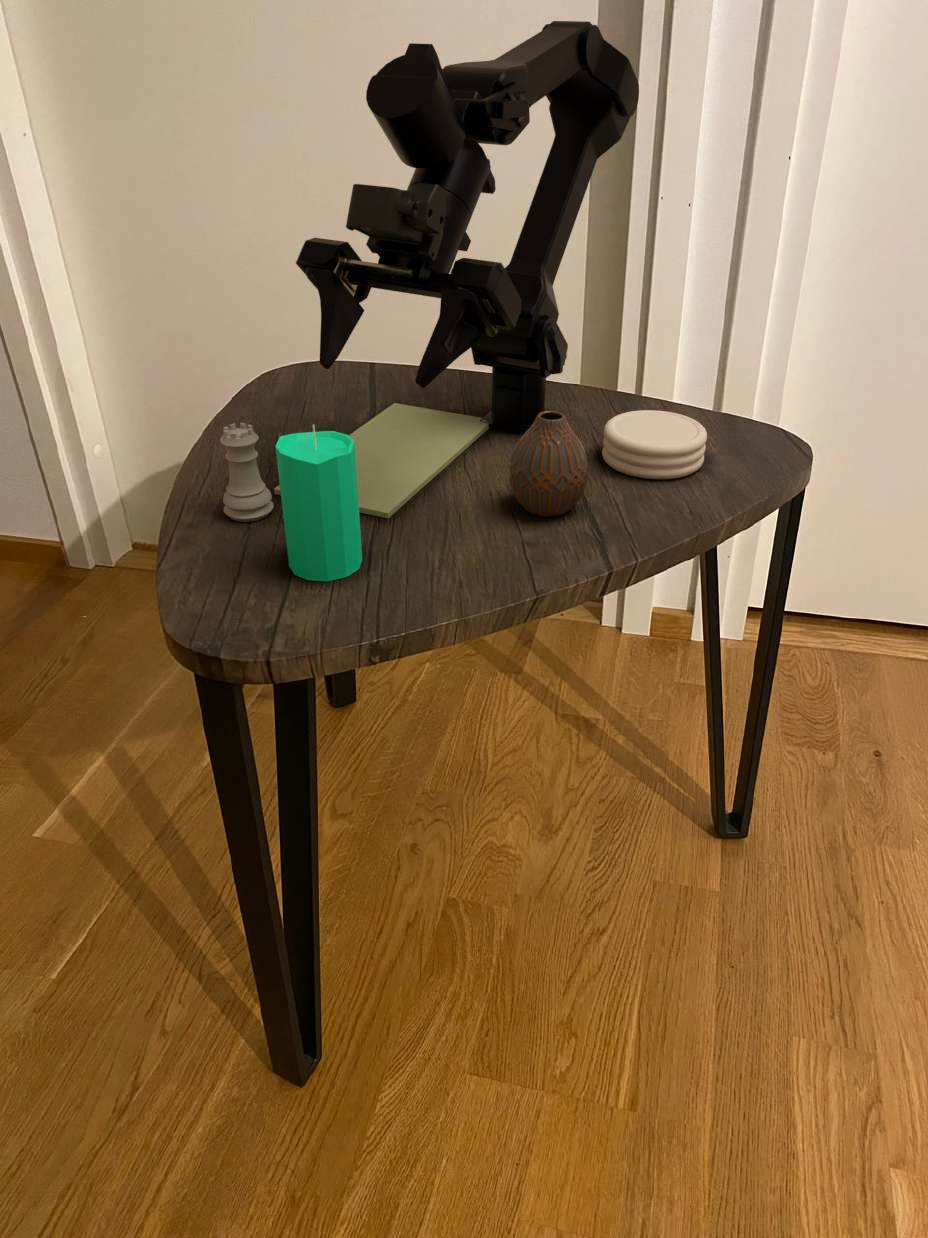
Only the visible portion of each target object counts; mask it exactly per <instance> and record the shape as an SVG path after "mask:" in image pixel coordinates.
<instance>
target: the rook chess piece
mask: <svg viewBox="0 0 928 1238" xmlns="http://www.w3.org/2000/svg"><path fill="white" fill-rule="evenodd" d="M222 430H223V431H222V433H223V435H221V437H220V439H219V440H220V444H222V445H223V447H224V448H225V449H226V453H225V455H224V458H225V459H226V460H227V462H228V483H227V485H226V487H225V488H226V491H225V492H224V494H223V496H222V497H223V498H222V501H223V502H222V503H223V504H224V505H225V506H223V513H224V514H225V515H227V517H228V518H229V519H231V520H233V521H236V522H241V523H250V522H251V523H252V522H257V521H260V520H263V519H265V518H267V517H268V516H269V515H270V514H271V512H272V511H273V509H274V507H275V505H274V502H273V501H272V499H273V498H272V493H271V490H270V489H268V488H267V487H266V483H265V482H264V481H263V479H262V477H261V474H260V470H259V467H258V466H259V465H258V463H257V457H258V456H259V452H258V451H256V448H255V447H256V444H257V442H258V441H259V438H260V437H259V435H258V434H257V433H256V432H255V431H254V426H253V425H252V424H247V423H246V422H240V423H239V427H237V425H236V423H230V424H229V426H228V425H227V426H224V427H223V428H222Z"/></svg>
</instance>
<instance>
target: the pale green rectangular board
mask: <svg viewBox="0 0 928 1238" xmlns="http://www.w3.org/2000/svg"><path fill="white" fill-rule="evenodd" d="M482 418H483V417H479V416H474V415H468V414H462V413H455V412H449V411H443V410H439V409H433V408H432V409H431V408H427V407H421V406H416V405H415V406H414V405H408V404H403V403H396V402H394V403H392V404H391V405H390V406H388V407H387V408H385V409H384V410H382V411H381V412H379V413H378V414H377V415H375V416H374V417H373V418H371V419H370V420H369V421H367V422H365V423H364V424H363V425H361V426H360V427H359V428H357V429H356V430H354V431H352V432H351V433H349V434H348V435H349V436H350V437H351V438H352V439H353V440H354V441H355V455H356V470H357V485H358V500H359V514H365V515H369V516H374V517H379V518H383V519H390V518H391V517H392V516H393V515H394V514H396V512H397V511H399V510H400V509H401V508H402V507H403V506H404V505H405V504H407V502H408V501H410V500H411V499H412V498H413V497H414V496H415V495H417V494H418V493H419V492H420V491H421V490H422V489H423V488H424V487H425V486H427V485H428V484H429V483H430V482H431V481H432V480H433V479H434V478H435V477H437V476H438V475H439V474H440V473H441V472H442V471H443V470H444V469H446V467H448V466H449V465H450V464H451V463H452V462H453V461H454V460H456V458H458V457H459V456H460V455H461V454H462V453H463V452H465V451H466V450H467V449H468V448H469V447H470V446H471V445H472V444H473V443H475V442H476V441H477V440H478V439H479V438H480V437H481V436H483V434H485V433H486V432H487V431H488V430H489V429H490V428H491V427H489V424H488V423H485V422H486V420H485V419H486V418H485V419H484V418H483V420H482V421H481V422H480V420H481V419H482ZM491 420H492V419H491ZM483 422H484V423H483ZM487 422H488V421H487ZM489 422H490V421H489ZM273 493H274V495H277V496H281V491H280V484H278V485H277V486H275V487H274V488H273Z"/></svg>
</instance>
